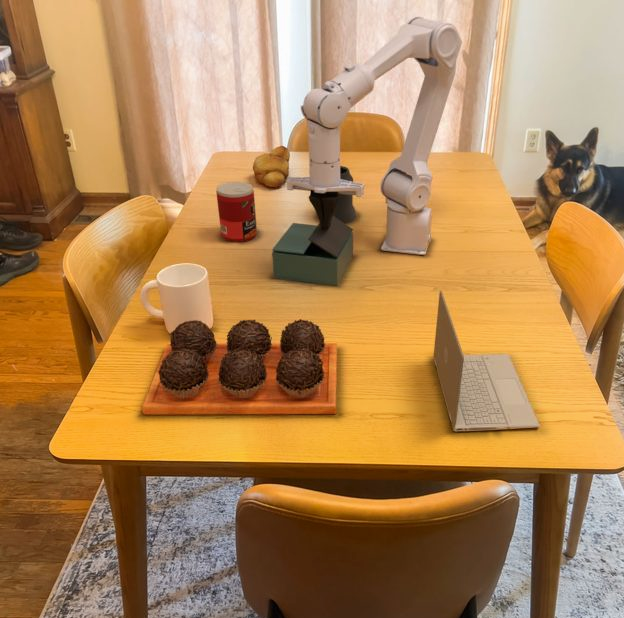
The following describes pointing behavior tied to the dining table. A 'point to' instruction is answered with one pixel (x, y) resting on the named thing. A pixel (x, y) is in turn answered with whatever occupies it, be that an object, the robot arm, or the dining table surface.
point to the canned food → (236, 211)
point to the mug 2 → (345, 201)
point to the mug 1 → (180, 295)
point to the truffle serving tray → (245, 372)
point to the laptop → (478, 384)
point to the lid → (331, 236)
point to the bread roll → (272, 167)
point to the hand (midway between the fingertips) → (325, 227)
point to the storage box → (308, 258)
